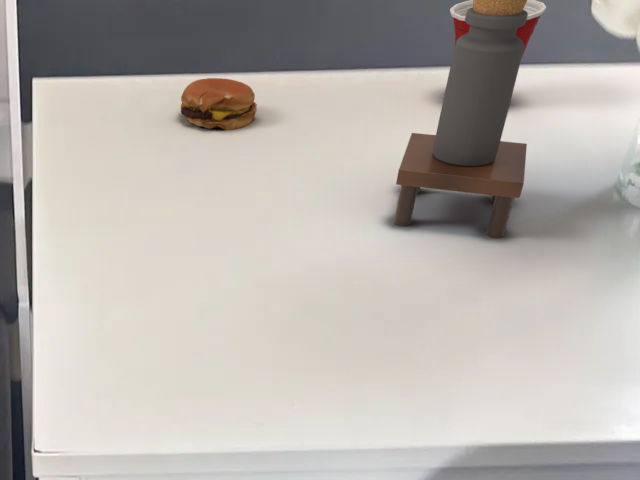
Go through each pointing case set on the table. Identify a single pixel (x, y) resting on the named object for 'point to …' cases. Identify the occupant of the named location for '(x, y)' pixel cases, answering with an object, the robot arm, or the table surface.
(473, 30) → the bottle
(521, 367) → the table surface
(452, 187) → the stool
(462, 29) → the plastic cup
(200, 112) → the burger
